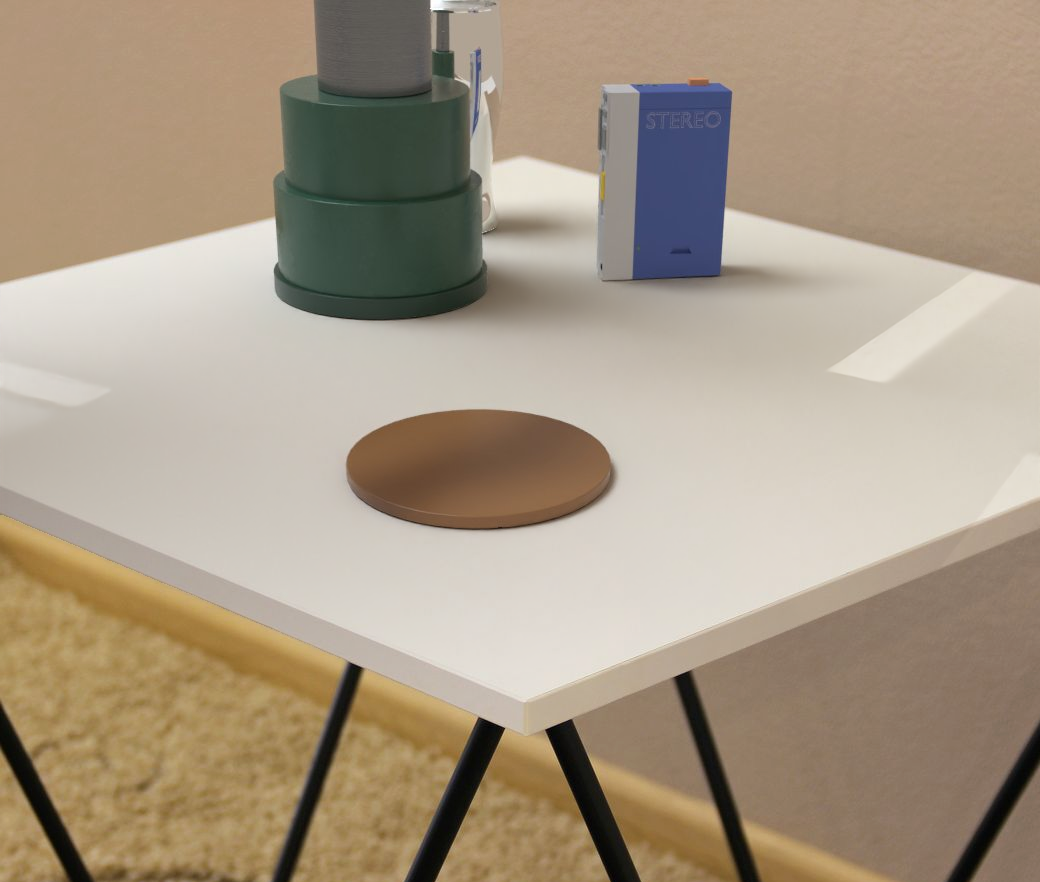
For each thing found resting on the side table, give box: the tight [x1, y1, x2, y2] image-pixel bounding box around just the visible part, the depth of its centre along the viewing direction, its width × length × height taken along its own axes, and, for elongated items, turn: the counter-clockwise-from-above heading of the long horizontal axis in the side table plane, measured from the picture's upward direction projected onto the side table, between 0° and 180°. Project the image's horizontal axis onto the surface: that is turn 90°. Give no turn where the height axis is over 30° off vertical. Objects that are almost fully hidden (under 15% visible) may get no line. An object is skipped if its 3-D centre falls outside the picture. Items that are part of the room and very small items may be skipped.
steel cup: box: [313, 0, 432, 98], centre depth 87 cm, size 7×7×9 cm
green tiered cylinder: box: [272, 74, 489, 320], centre depth 91 cm, size 13×13×12 cm
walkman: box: [596, 77, 733, 281], centre depth 95 cm, size 8×3×12 cm, turn 102°
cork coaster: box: [345, 408, 612, 529], centre depth 69 cm, size 12×12×1 cm
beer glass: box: [431, 0, 505, 232], centre depth 104 cm, size 7×7×15 cm
